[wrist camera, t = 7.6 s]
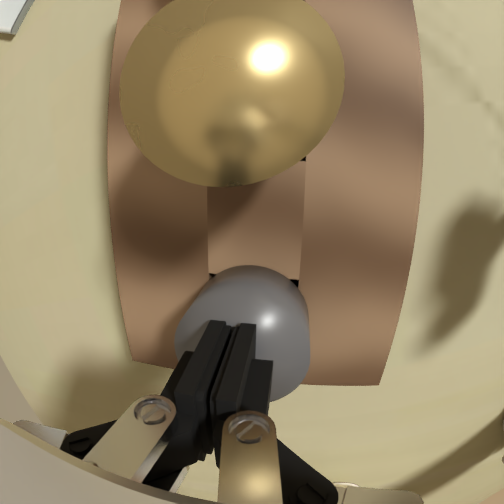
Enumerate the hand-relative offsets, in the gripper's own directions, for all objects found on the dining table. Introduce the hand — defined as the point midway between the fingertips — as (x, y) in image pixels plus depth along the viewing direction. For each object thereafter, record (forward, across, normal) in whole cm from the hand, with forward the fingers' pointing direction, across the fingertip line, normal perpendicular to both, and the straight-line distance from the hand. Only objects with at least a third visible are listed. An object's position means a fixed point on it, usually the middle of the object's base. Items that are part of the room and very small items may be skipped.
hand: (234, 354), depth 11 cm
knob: (+8, 0, 0) cm, 8 cm away
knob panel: (+9, 0, -9) cm, 13 cm away
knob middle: (+5, 0, -9) cm, 10 cm away
